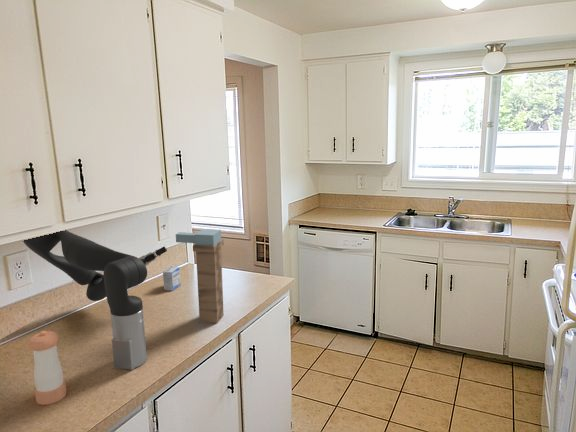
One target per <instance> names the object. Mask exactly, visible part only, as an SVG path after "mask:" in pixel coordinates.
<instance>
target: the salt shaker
mask: <svg viewBox="0 0 576 432" xmlns="http://www.w3.org/2000/svg"><path fill="white" fill-rule="evenodd" d="M59 340H60V336H59V334H58V333H56V332H55V331H51V330H50V331H47V330H41V331H40V332H38V333H36V334H34V335H32V336H31V338H30V339H29V340H28V347H29V348H30V350H31V351H32V352H33V360H34V362H33V363H34V371H33V373H34V374H33V380H34V384H35V387H34V397H35V402H36V404H38V405H41V406H46V405H51V404H55V403H57V402H59V401H61V400H62V399H63V398H65V397H66V395H67V385H66V381H65V378H64V376H63V372H64V371H63V367H62V364H61V362H60V359H59V354H58V346H57V345H58V344H59Z"/></svg>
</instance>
